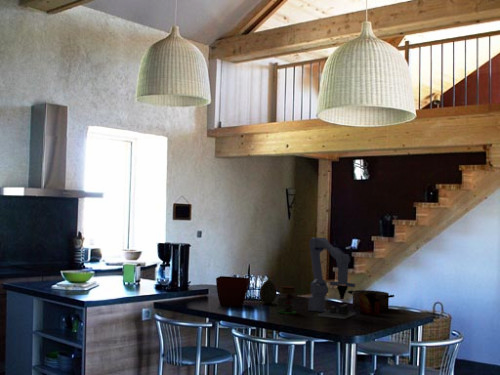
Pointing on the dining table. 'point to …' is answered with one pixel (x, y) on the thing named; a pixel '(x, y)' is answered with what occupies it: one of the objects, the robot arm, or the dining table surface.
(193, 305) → the dining table surface
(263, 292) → the decorative egg
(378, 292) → the cooking pot
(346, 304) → the breaker
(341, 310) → the breaker
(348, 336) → the dining table surface
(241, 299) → the plant pot
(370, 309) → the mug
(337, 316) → the breaker panel
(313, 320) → the dining table surface
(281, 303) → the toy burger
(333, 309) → the breaker
